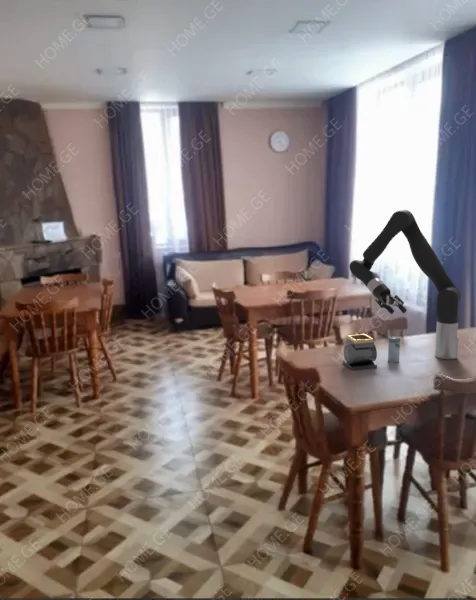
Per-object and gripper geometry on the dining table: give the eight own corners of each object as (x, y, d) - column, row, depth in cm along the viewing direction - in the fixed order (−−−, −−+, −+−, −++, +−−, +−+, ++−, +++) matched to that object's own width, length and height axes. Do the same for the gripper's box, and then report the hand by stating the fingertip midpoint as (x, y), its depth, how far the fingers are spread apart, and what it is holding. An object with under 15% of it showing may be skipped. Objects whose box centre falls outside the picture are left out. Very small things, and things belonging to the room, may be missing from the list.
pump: (385, 359, 237) (385, 337, 235) (396, 358, 238) (396, 336, 236) (392, 364, 231) (393, 341, 228) (403, 363, 232) (404, 340, 229)
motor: (367, 360, 237) (367, 333, 234) (377, 367, 227) (377, 339, 224) (343, 363, 234) (343, 335, 232) (352, 370, 225) (352, 341, 222)
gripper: (372, 283, 238) (393, 307, 228) (392, 283, 246) (413, 305, 236) (364, 295, 243) (384, 318, 233) (384, 294, 250) (404, 317, 240)
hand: (399, 312), depth 234 cm, fingers open, 8 cm apart
